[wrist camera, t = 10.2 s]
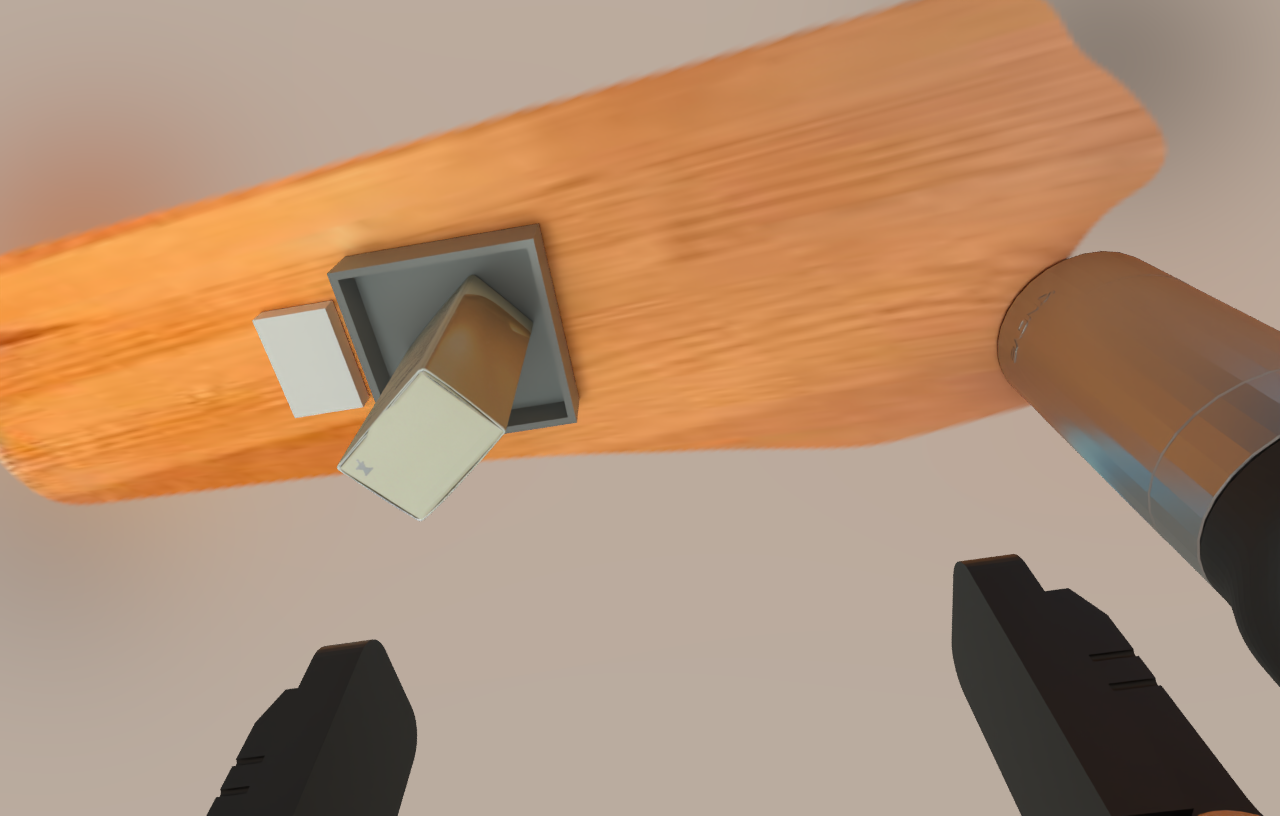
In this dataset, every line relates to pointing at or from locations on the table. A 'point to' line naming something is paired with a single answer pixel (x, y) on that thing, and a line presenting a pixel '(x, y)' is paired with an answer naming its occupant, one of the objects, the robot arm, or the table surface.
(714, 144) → the table surface
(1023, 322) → the robot arm
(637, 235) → the table surface
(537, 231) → the grey open tray
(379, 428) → the skincare box
